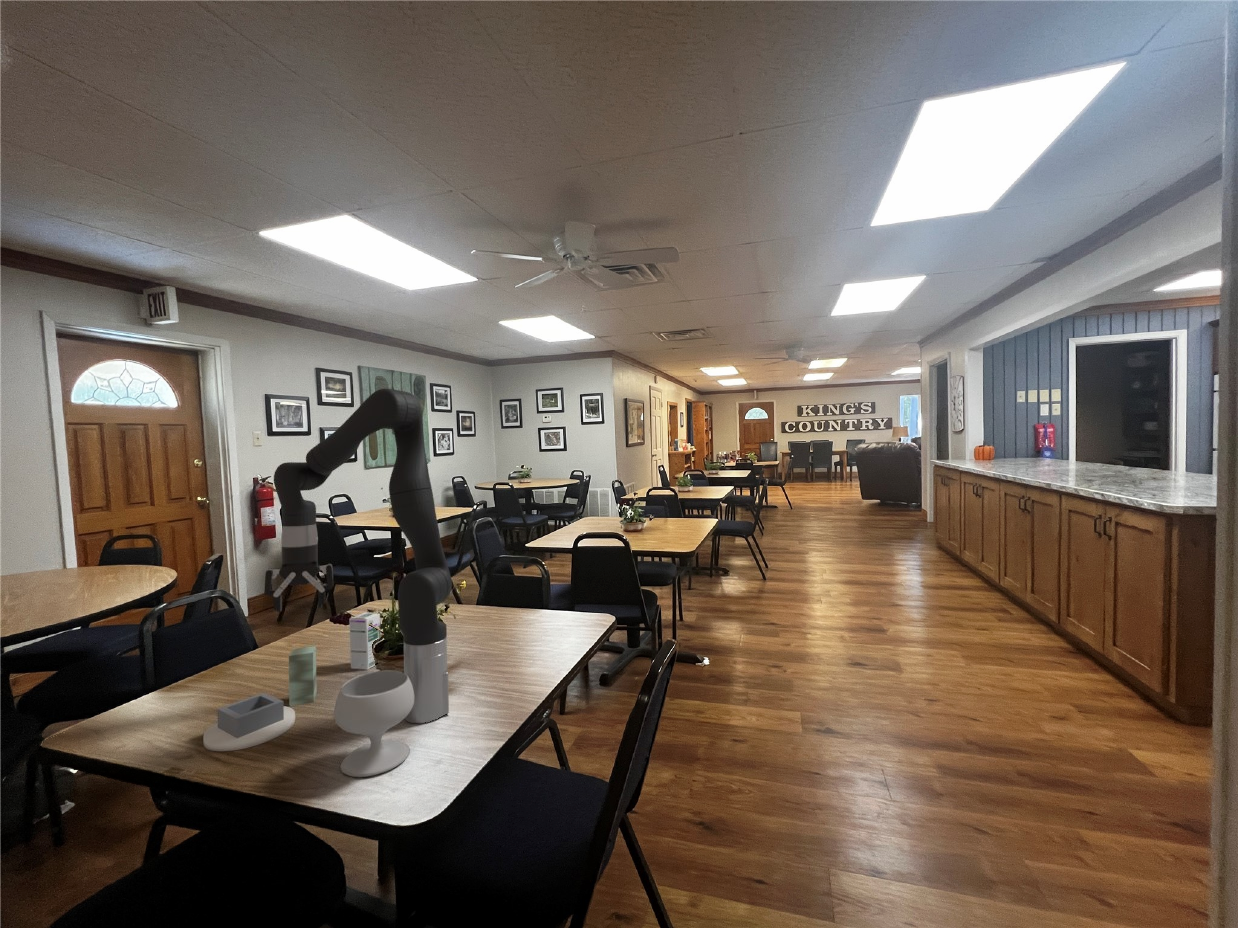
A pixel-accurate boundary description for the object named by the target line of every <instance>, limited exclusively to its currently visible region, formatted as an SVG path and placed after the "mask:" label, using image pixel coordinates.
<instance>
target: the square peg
mask: <svg viewBox="0 0 1238 928" xmlns="http://www.w3.org/2000/svg"><path fill="white" fill-rule="evenodd" d="M288 690H289V691H288V694H289V695H288V698H289V699H288V700H289V702H288V705H289V706H288V707H293V706H294V707H295V706H298V705H303V704H310V703H314V702H315V701H316V700H315V699H316V696H317V692H318V691H317V645H313V646H305V647H299V648H292V649H291V651H290V653H289V655H288Z"/></svg>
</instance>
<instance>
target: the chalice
mask: <svg viewBox="0 0 1238 928" xmlns="http://www.w3.org/2000/svg"><path fill="white" fill-rule="evenodd" d="M334 704H335V705H334V710H333V715H334V720H335V722H336V725H337V726H338V727H340V729H341V730H343V731H344V732H348V733H350V734H354V735H362V736H366V737H367V738H368V739H369V741H370V742H369V743H367V744H364V745H362V746H360V747H358V748H356V749H354V750H352V751H350V753H349V754H348V755H346V756H345V757H344V758H343V760H342V761H341V764H340V771H341V772H342V773H343V774H344V775H346V776H349V777H355V778H362V777H371V776H377V775H380V774H383V773H386V772H389V771H390V770H393V769H395V768H396V767H398V766H399V765H401V764H403V762H404V761H406V759H407V758H409V755H410V753H411V748H410V746H409V745H408V744H407V743H406V742H404V741H401V740H397V739H384V740H382V737H383V736H384V734H385V733H386V732H387V731H388V730H389V729H391V728H393V727H394V726H396V725H398V724H399V723H401V722H402V721H403V720H404V719H405V717H406V716H407V715H408V714H409V713H410V711H411V709H412V707H413V705H414V690H413V686H412V683H411V681H410V679H409V678H408V676H407V675H406V674H405V673H404V671H403V672H402V671H400V670H395V669H391V670H390V669H388V670H387V669H386V670H376V671H371V672H367V673H364V674H359V675H358V676H355V677H353V678H351V679H349V680H347V681H346V682H345V683H344V684H343V685H342V686H341V688H340V689H339V691H338V693H337V697H336V700H335V703H334Z"/></svg>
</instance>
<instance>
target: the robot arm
mask: <svg viewBox="0 0 1238 928" xmlns="http://www.w3.org/2000/svg"><path fill="white" fill-rule="evenodd" d="M423 418H424V417H423V410H422V406H421V403H420V401H419V399H418V398H417V397H416V396H415V395H414V394H413V393H410V392H408V391H403V390H398V389H392V388H387V387H386V388H385V387H384V388H380V389H377V390H375V391H374V392H373V393H371V394H370V395H369V396H368V397H367V398H366V399H365V400H364V401H363V402H362V403H361V404H360V405H359V406H358V408H356V409H355V411H354V412H353V413H352V414H351V415H350V416H349V417H348V418H347V419H346V420H345V422H344V423H342V424H341V425H340V426H339V427H338V428H337V429H336V430H335V431H334V432H333V433H331V434H330V435H329V436H327V437H326V438H324V439H323V440H321V441H320V442H319V443H317V444H315V446H313V447H312V448H311V449H310V450H309V451H307V453H306V456H305V461H306V462H303V461H301V462H300V461H299V462H298V461H297V462H294V461H291V462H290V461H289V462H283V463H281V464H279V465H278V466H277V467H276V469H275V471H274V474H273V484H274V488H275V490H276V491H275V492H276V494H277V497H278V500H279V503H280V506H281V509H282V514H281V515H282V516H281V517H282V519H281V520H282V521H281V522H282V528H281V529H282V530H281V544H280V545H281V567H280V568H279V569H274V568H268V569H267V570H266V571H265V578H264V593H263V594H264V595H265V596H270V597H273V610H274V611H277V613H281V612H282V611H283V594H282V593H283V591H284V590H285V589H286V588H287V587H288V585H289V586H292V587H294V586H295V587H296V586H299V585H301V586H306V585H309V584H311V585H312V586H313V587H314V588H315V589H317V591H318V593H317V595H318V596H317V598H318V599H317V601H318V602H317V606H318V608H319V609H320V608H323V605H325V604H326V592H327V591H329V590H332V589H333V588H334V585H335V583H334V571H333V570H334V568H333V564H332V563H328V564H325V565H320V564H319V562H318V561H319V560H318V554H319V553H318V551H319V550H318V547H319V546H318V544H319V543H318V542H319V536H318V528H317V506H316V504H315V502H314V501H312V500H307V499H304V497H303V495H302V492H301V491H311V490H315V489H318V488H319V487H321V486H322V485H323V484H324V483H325V482H326V481H327V479H328V478H329V477H330V475H332V472H334V471H335V470H336V469H338V468H340V467H341V466H342V465H344V464H345V463H346V462H348V461H350V460H351V458H352V457H354V456H355V454H356V452H357V451H358V449H359V447H360V444H361V443H362V442H363V441H364V439H366V438H367V437H369V436H370V435H372V434H374V433H376V432H378V431H380V430H383V429H385V430H386V429H387V430H392V431H393V434H394V435H393V436H394V439H395V445H396V457H395V461H394V462H395V463H394V464H393V468H392V471H391V474H390V479H389V484H388V494H389V499H390V504H391V505H390V506H391V510H392V515H393V517H394V520H395V522H396V523H397V525H398V526H399V528H400V530H401V532H402V533H403V534H404V536H405V538H406V539H407V540H408V542H409V544H410V547H411V549H412V552H413V556H414V563H415V570H414V571H411V572H409V573H408V574H405V576H404V577H402V579H401V580H400V583H399V586H398V590H397V591H398V592H397V608H398V621H399V628H400V631H401V633H402V635H403V673H405V674H406V675H407V676H408V678H409V679H410V681H411V683H412V686H413V690H414V705H413V707H412V709H411V711H410V713H409V714H408V715H407V716H406V717H405V718H404V719H405V721H407V722H409V723H412V724H425V722H426V723H431V722H433V721H432V720H434V721H436V720H435V719H437V720H439V719H440V718H439V717H441V716H443V715H445V714H448V713H449V714H450V711H449V709H450V705H449V703H450V701H449V700H450V699H449V698H450V697H449V691H450V690H449V672H448V647H447V646H448V643H447V642H448V639H447V637H448V634H447V624H446V623H445V622H443V621H440V620H439V619H438V605H440V604H441V603H443V602H445V601H446V600H447V599H448V598H449V596H450V595H451V592H452V587H453V581H452V576H451V572H450V569H449V565H448V562H447V559H446V555H445V551H444V549H443V545H442V539H441V533H440V529H439V524H438V518H437V513H436V505H435V497H434V494H433V488H432V483H431V478H430V473H429V466H428V460H427V453H426V447H425V438H424V437H425V436H424V435H425V434H424V419H423ZM320 571H322V574H324V575H326V583H327V584H326V583H325V584H324V583H323V582H322V581H321V580H320V579H319V578H318V577H317V575H318V574H319V572H320ZM277 575H279V576H281V578H282V579H283V582H282V583H281V584H280V586H279V587H277V589H273V585H274V583H273V582H274V579H276V578H277ZM445 716H446V715H445ZM443 717H444V716H443ZM438 718H439V719H438ZM441 718H442V717H441ZM430 721H431V722H430Z"/></svg>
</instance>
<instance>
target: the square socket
mask: <svg viewBox="0 0 1238 928" xmlns="http://www.w3.org/2000/svg"><path fill="white" fill-rule="evenodd" d="M295 722H296V712H295V709H293V708H291V706H285V705H284V701H283V700H282V699H280V698H277V697H275V696H272V695H270V694H269V693H266V692H261V693H257V694H256V695H253V696H250V697H246V698H244V699H242V700H238V701H236V702H233V703H231V704H227V705H225V706H222V707H219V708H217V722H215V723H214V724H212V725H210V727H208V728H207V729H206V730H205V732H204V733H203V737H202V738H203V740H202V742H203V747H204V748H205V749H206V750H209V751H214V752H233V751H238V750H244V749H249V748H251V747H255V746H258V745H261V744H263V743H266V742H269V741H271V740H274V739H276V738H277V737H279V736H281V735H283V734H284V733H286V732H288V731H289V730H290V729H291V728H292V727H293V726H294V724H295Z"/></svg>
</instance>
